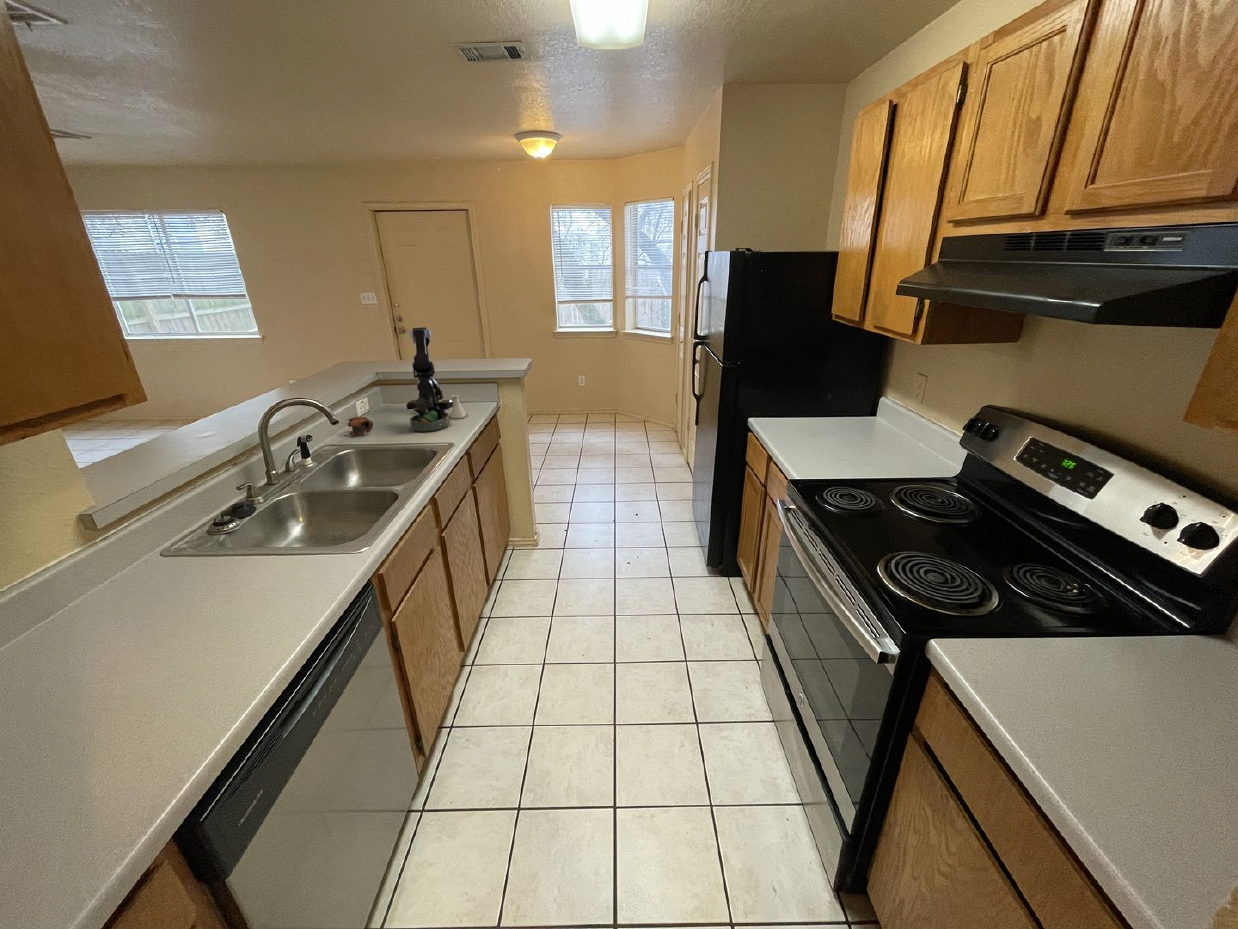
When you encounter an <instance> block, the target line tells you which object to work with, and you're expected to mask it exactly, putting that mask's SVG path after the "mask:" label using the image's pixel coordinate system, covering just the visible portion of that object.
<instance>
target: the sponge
mask: <svg viewBox="0 0 1238 929" xmlns="http://www.w3.org/2000/svg"><path fill="white" fill-rule="evenodd" d="M443 417H444V416H443ZM443 417H442V419H443ZM436 420H438V416H437V412H435V411H433V410H432V411H431V412H429V413H427V414H426V415H424V416H423V417H422V420H421V422H431V421H436Z"/></svg>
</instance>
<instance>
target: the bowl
mask: <svg viewBox="0 0 1238 929" xmlns="http://www.w3.org/2000/svg"><path fill="white" fill-rule="evenodd" d="M426 413H429V412H427V411H426ZM443 416H444V417H443V419H440V420H436V421H431V422H421V420H422V417H421V416H420V414H419V413H418V414H415V415H413V416H410V418H409V424H410V428H411V430H412V431H415V432H423V433H426V432H427V433H429V432H435V431H440V430H443V429H445V428H447V427H449V426H450V425H451V416H450V414H449V412H446V411H444V413H443Z"/></svg>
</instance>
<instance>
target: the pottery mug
mask: <svg viewBox="0 0 1238 929" xmlns="http://www.w3.org/2000/svg"><path fill="white" fill-rule="evenodd" d="M348 421H349V422H348V423H347V424H346V426H347V427H348V428H351V431H349V435H350V437H351V438H353V437H363V436H364V437H365V436H366V433H368V434H369V433H370V432H371V431H372V429H373V427H374V422H373V420H370V419H369V418H368V417H365V416H357V417H352V418H349V419H348Z"/></svg>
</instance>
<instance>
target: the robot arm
mask: <svg viewBox="0 0 1238 929" xmlns="http://www.w3.org/2000/svg"><path fill="white" fill-rule="evenodd" d="M409 335H410V340H412V341H413V344H414V345H415V354H414V356H413V362H412V363H411V364H412V371H413V372H412V373H413V378H414V379H417V385H416V386H417V387H416V389H417V391H418V397H417V399H412V400H409V401H407V403H406V406H405V407H406V410H413V412H416V413H418V414H420V416H421V417H423V416H424V415H426V414H427V413H426V412H431V411H432V410H433V411H435V412H437V416H438V420H440V419H442V417H443V413H444V412H446V411H447V410H449V409H452V406H453V400H451V399H444V396H443V391H442V389H441V388H440V386H439V384H438V381H436V380H435V378H434V376H435V374H436V371H435V364H434V363H433V361H431V358H430V353H429V344H430V342H431V338H432V333H431V329H429V328H428V327H427V326H424V327H423V326H421V327H412V330H409Z"/></svg>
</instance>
